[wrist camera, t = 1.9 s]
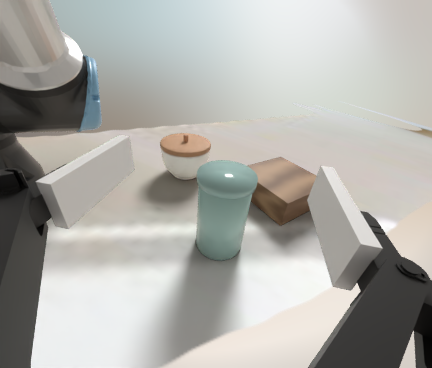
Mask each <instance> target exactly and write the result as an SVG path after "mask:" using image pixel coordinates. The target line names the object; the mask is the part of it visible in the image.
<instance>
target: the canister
mask: <svg viewBox="0 0 432 368" xmlns="http://www.w3.org/2000/svg"><path fill="white" fill-rule="evenodd" d="M257 182H258V176H257V174H256V173H255V172H254V171H253V170H252V169H251V168H249V167H248V166H246V165H243V164H241V163H238V162H233V161H226V160H218V161H211V162H208V163H205V164H203V165H202V166H200V167H199V169H198V170H197V184H198V186H199V191H198V212H197V233H196V245H197V248H198V249H199V251H200V252H201V253H202V254H203V255H204V256H206V257H208V258H210V259H213V260H219V261H222V260H228V259H231V258H233V257H234V256H235V255H237V253H238V252H239V250H240V248H241V243H242V239H243V234H244V229H245V225H246V220H247V216H248V211H249V207H250V202H251V198H252V193H253V192H254V191H255V190H256V187H257Z"/></svg>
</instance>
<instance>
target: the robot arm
mask: <svg viewBox="0 0 432 368" xmlns="http://www.w3.org/2000/svg"><path fill="white" fill-rule="evenodd" d="M96 66H97V65H96V61H95V60H94V59H93V58H90V57H88V56H84V55H83V56H82V53H81V51H80V49H79V46H78V45H77V44H76V42H75V41H74V40H73V39H72V38H71V37H69V36H68V35H67V34H65V33H63V32H62V31H61V30H60V27H59V25H58V22H57V19H56V17H55V14H54V11H53V9H52V6H51V4H50V1H49V0H0V368H31V355H32V347H33V339H34V332H35V324H36V316H37V308H38V301H39V293H40V285H41V278H42V270H43V262H44V255H45V247H46V239H47V232H48V226H47V223H46V221H48V220H49V219H50V218H51V217H52V219H53V222H54V224H55V226H57V227H62V228H66V229H69V228H70V227H71V226H73V225H74V224H75V223H76V222H77V221H78V220H79V219H80V218H81V217H83V216H84V215H85V214H86V213H87V212H88V211H89V210H90V209H92V208H93V207H94V206H95V205H96V204H97V203H98V202H99V201H100V200H102V199H103V198H104V197H105V196H106V195H107V194H108V193H109V192H111V191H112V190H113V189H114V188H115V187H116V186H117V185H118V184H120V183H121V182H122V181H123V180H124V179H125V178H126V177H127V176H128V175H130V174H131V173H132V172H133V171H134V163H133V156H132V149H131V142H130V136H125V135H118V136H116V137H115V138H113V139H111V140H109V141H107V142H106V143H104V144H102V145H100V146H98V147H97V148H95V149H93V150H91V151H89V152H88V153H86V154H84V155H82V156H80V157H79V158H77V159H75V160H73V161H71V162H70V163H68V164H65V165H63V166H61V167H59V168H57V169H56V170H54V171H52V172H50V174H49V173H48V174H46V175H45V174H44V171H43V169H42V167H41V165H40V164H39V163H38V162H37V161H36V160H35V159H34V158H33V157H32V156H31V155H30V154H29V153H28V152H27V151H26V150H25V149H24V148H23V147H22V145H21V144H20V143H19V142H18V140H17V138H16V136H15V134H14V133H26V132H63V131H77V132H80V131H82V130H93V129H97V128H98V127H100V125H101V123H102V118H101V108H100V97H99V86H98V75H97V67H96ZM307 201H308V204H309V208H310V211H311V215H312V218H313V221H314V225H315V228H316V231H317V235H318V238H319V242H320V245H321V248H322V252H323V255H324V258H325V262H326V265H327V269H328V272H329V275H330V279H331V282H332V285H333V287H337V288H341V289H346V290H352V289H353V287H354V286H355V285H356V283H358V285H359V288H360V290H361V292H360V293H359V294H358V296H357V297H356V298H355V299H354V301H353V302H352V303H351V304H350V307H349V309H348V310H347V312H346V313H345V314H344V316H343V318H342V319H341V320H340V322H339V323H338V325H337V326H336V328H335V329H334V330H333V332H332V333H331V335H330V336H329V338H328V339H327V341H326V342H325V343H324V345H323V346H322V348H321V350H320V351H319V352H318V354H317V355H316V357H315V358H314V359H313V361H312V362H311V364H310V365H309V367H308V368H399V367H400V364H401V361H402V359H403V356H404V353H405V350H406V348H407V345H408V342H409V340H410V337H411V334H412V332H413V331H414V340H415V358H416V368H432V280H430V278H429V277H428V275H427V273H426V272H425V271H424V270H423V269H422V268H421V267H420V266H418V265H417V264H415V263H414V262H413V261H411V260H408V259H406V258H404V257H401V256H400V254H399V253H398V251H397V250H396V248H395V247H394V246H393V244H392V243H391V241H390V240H389V238H388V237H387V235H385V232H384V231H383V229H381V226H380V225H379V223H378V222H377V220H376V219H375V218H373V217H372V216H371V215H370V214H369V213H367V212H362V211H360V210H359V209H358V207H357V205H356V204H355V202H354V200H353V199H352V197H351V196H350V194H349V192H348V191H347V189H346V187H345V186H344V184H343V183H342V181H341V179H340V178H339V176H338V174H337V173H336V171H335V169H334V168H333V167H327V166H320V169H319V171H318V174H317V176H316V179H315V182H314V184H313V187H312V189H311V192H310V194H309V197H308V199H307Z"/></svg>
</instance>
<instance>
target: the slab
mask: <svg viewBox="0 0 432 368" xmlns="http://www.w3.org/2000/svg"><path fill="white" fill-rule="evenodd" d="M248 167H249V168H251V169H252V170H253V171H254V172H255V173H256V174H257V176H258V182H257V187H256V190H255V191H254V192H253V193H252V198H251V202H252V203H253V204H254V205H256V206H257V207H258V208H259V209H260V210H262V211H263V212H264V213H265V214H267V215H268V216H269V217H270V218H271V219H273V220H274V221H275V222H276V223H277V224H279V225H280V226H281V225H283V224H285V223H287V222H289V221H291V220H293V219H295V218H297V217H298V216H300V215H302V214H304V213H306V212H308V211H310V208H309V204H308V201H307V199H308V197H309V194H310V192H311V189H312V187H313V184H314V182H315V179H316V175H314V174H312V173H310V172H308V171H307V170H305V169H303V168H301V167H299V166H297V165H295V164H293V163H292V162H290V161H288V160H286V159H284V158H282V157H278V158H274V159H271V160H267V161H263V162H259V163H256V164H252V165H248Z"/></svg>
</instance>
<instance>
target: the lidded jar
mask: <svg viewBox="0 0 432 368" xmlns="http://www.w3.org/2000/svg"><path fill="white" fill-rule="evenodd" d="M160 146H161V152H162V159H163V162H164V165H165V167H166V168H167V170H168V171H169V172H170V173H171V174H173V176H174V177H176V178H178V179H182V180H190V179H194V178H196V177H197V170H198V169H199V167H200V166H202V165H203V164H205V163H208V159H209V153H210V147H211V144H210V141H209V140H208V139H206V138H204V137H202V136H199V135H195V134H184V133H181V134H173V135H169V136H166V137H164V138H163V139H162V140H161V142H160Z"/></svg>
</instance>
